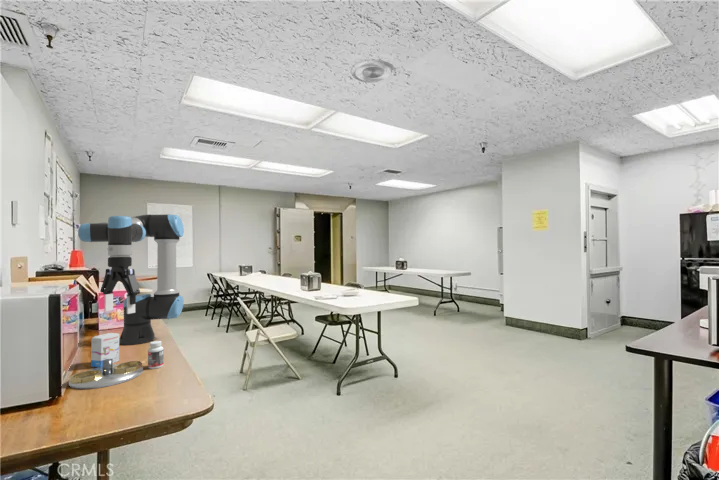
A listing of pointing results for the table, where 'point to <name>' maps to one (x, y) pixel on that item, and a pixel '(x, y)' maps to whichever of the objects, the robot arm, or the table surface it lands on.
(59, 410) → the table surface
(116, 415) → the table surface
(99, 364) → the ink box
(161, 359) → the pill bottle
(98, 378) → the carrier
